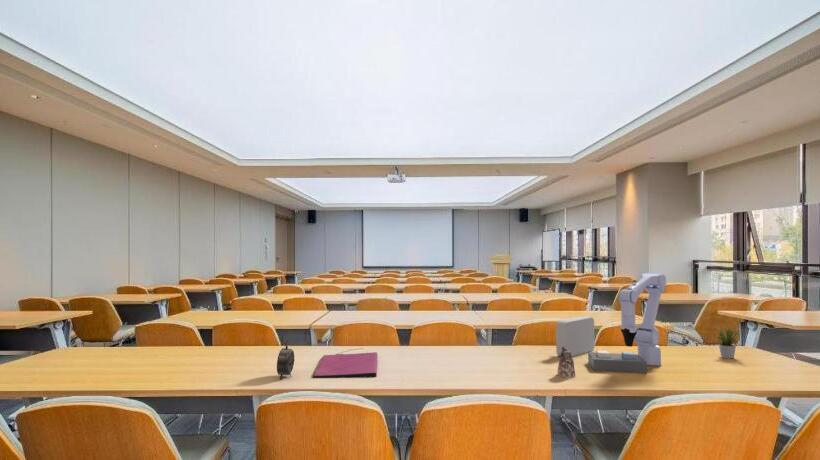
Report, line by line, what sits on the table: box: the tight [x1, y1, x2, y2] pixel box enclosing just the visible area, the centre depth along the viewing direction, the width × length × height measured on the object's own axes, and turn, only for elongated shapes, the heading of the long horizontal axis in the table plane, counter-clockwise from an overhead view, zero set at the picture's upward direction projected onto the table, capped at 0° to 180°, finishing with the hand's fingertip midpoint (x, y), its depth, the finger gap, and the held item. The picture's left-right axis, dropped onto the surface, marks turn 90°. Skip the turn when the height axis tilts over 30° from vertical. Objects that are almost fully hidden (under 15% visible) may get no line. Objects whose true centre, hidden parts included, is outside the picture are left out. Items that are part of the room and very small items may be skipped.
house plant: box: [713, 325, 742, 359], centre depth 224 cm, size 14×14×16 cm
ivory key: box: [596, 350, 610, 358], centre depth 205 cm, size 5×5×4 cm
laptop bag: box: [312, 348, 378, 379], centre depth 208 cm, size 40×4×27 cm
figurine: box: [557, 347, 576, 379], centre depth 192 cm, size 7×7×12 cm
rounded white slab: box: [555, 316, 596, 358], centre depth 234 cm, size 29×8×18 cm, turn 129°
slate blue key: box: [621, 351, 637, 359], centre depth 203 cm, size 5×5×4 cm
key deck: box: [587, 351, 648, 375], centre depth 204 cm, size 22×14×5 cm, turn 77°
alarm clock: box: [276, 338, 295, 381], centre depth 189 cm, size 11×5×16 cm, turn 178°
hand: (628, 345), depth 203 cm, fingers closed
